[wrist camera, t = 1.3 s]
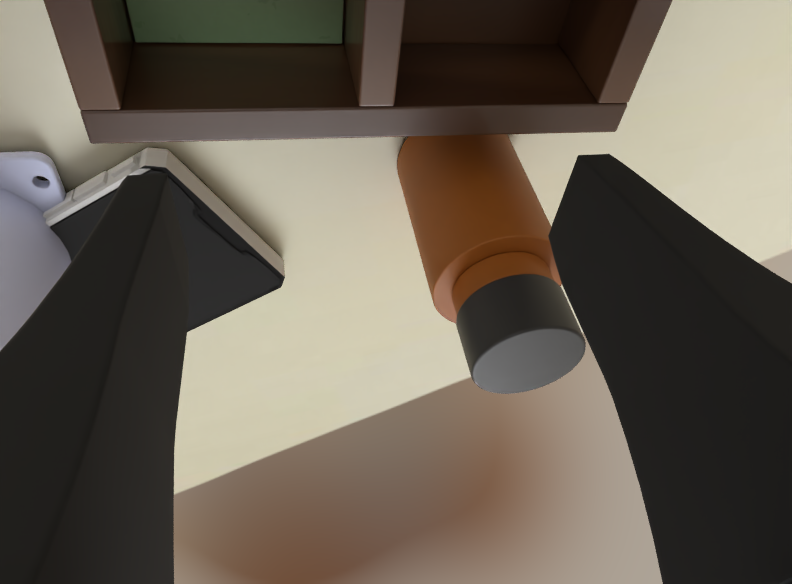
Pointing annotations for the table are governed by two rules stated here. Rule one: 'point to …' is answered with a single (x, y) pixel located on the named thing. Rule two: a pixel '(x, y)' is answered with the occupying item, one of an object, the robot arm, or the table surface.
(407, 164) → the spice bottle
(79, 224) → the smartphone
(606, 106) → the holder
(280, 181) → the table surface
